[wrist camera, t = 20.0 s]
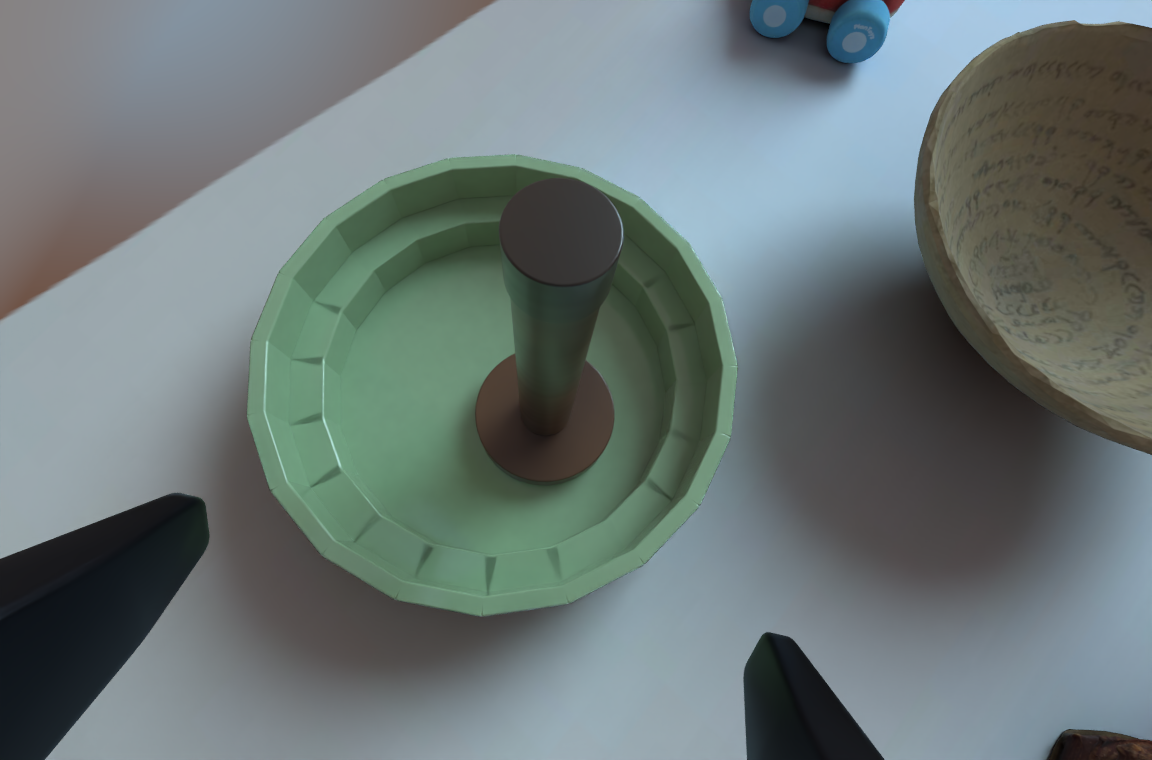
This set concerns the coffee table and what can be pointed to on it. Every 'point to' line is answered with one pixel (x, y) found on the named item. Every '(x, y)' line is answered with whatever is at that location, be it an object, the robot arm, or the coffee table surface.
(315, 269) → the green round dish
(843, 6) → the toy car
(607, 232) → the paper towel holder
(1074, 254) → the bowl
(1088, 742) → the pastry
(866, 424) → the coffee table surface
